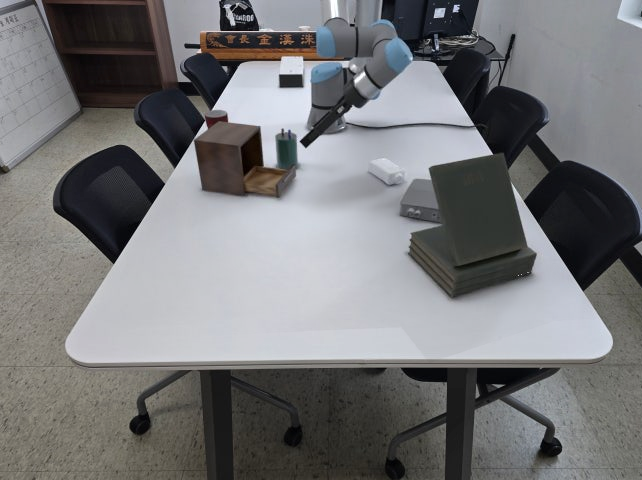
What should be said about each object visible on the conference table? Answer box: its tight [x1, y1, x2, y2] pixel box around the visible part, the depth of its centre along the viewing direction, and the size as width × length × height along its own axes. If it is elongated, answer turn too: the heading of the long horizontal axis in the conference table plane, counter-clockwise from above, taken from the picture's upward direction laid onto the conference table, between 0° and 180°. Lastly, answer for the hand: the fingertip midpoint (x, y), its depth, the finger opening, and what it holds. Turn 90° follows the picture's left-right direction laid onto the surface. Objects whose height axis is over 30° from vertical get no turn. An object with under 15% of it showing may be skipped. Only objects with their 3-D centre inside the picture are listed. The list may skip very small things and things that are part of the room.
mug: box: [204, 109, 229, 130], centre depth 180 cm, size 10×8×10 cm
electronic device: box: [399, 178, 443, 224], centre depth 143 cm, size 19×22×5 cm
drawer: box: [244, 164, 297, 199], centre depth 153 cm, size 14×15×4 cm
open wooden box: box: [193, 121, 265, 197], centre depth 152 cm, size 14×16×16 cm
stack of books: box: [407, 152, 538, 299], centre depth 115 cm, size 23×20×25 cm
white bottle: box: [368, 157, 406, 186], centre depth 159 cm, size 6×13×4 cm, turn 30°
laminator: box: [278, 55, 304, 88], centre depth 248 cm, size 34×12×6 cm, turn 3°
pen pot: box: [274, 127, 299, 170], centre depth 163 cm, size 7×7×13 cm
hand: (310, 136), depth 146 cm, fingers open, 13 cm apart
